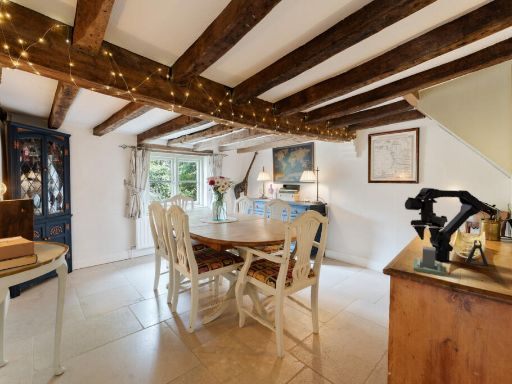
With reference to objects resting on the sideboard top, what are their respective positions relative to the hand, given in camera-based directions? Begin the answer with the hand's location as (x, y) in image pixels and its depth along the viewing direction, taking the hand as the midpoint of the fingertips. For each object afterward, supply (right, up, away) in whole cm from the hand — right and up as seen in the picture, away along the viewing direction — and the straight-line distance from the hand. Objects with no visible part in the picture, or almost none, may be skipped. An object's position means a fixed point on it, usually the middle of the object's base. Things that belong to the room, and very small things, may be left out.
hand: (428, 240), depth 130 cm
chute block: (-6, -11, -8) cm, 15 cm away
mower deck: (-5, -13, -7) cm, 15 cm away
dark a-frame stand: (+26, -12, 0) cm, 28 cm away
